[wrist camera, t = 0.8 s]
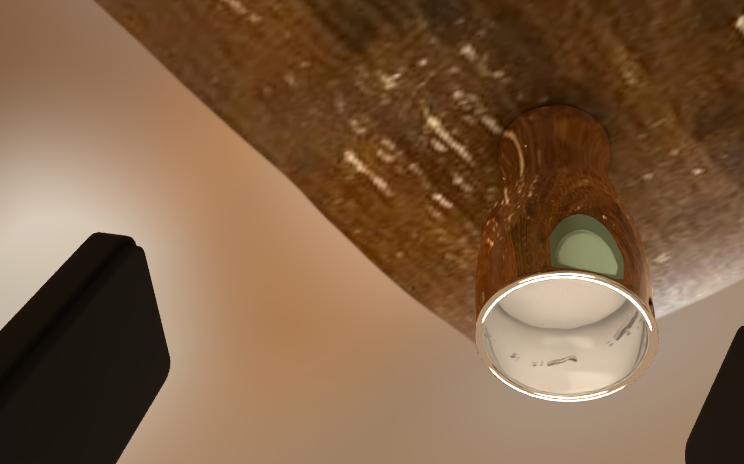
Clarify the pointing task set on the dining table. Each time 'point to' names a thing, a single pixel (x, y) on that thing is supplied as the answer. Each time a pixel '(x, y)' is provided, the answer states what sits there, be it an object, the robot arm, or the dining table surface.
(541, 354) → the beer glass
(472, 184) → the dining table surface
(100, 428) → the robot arm
